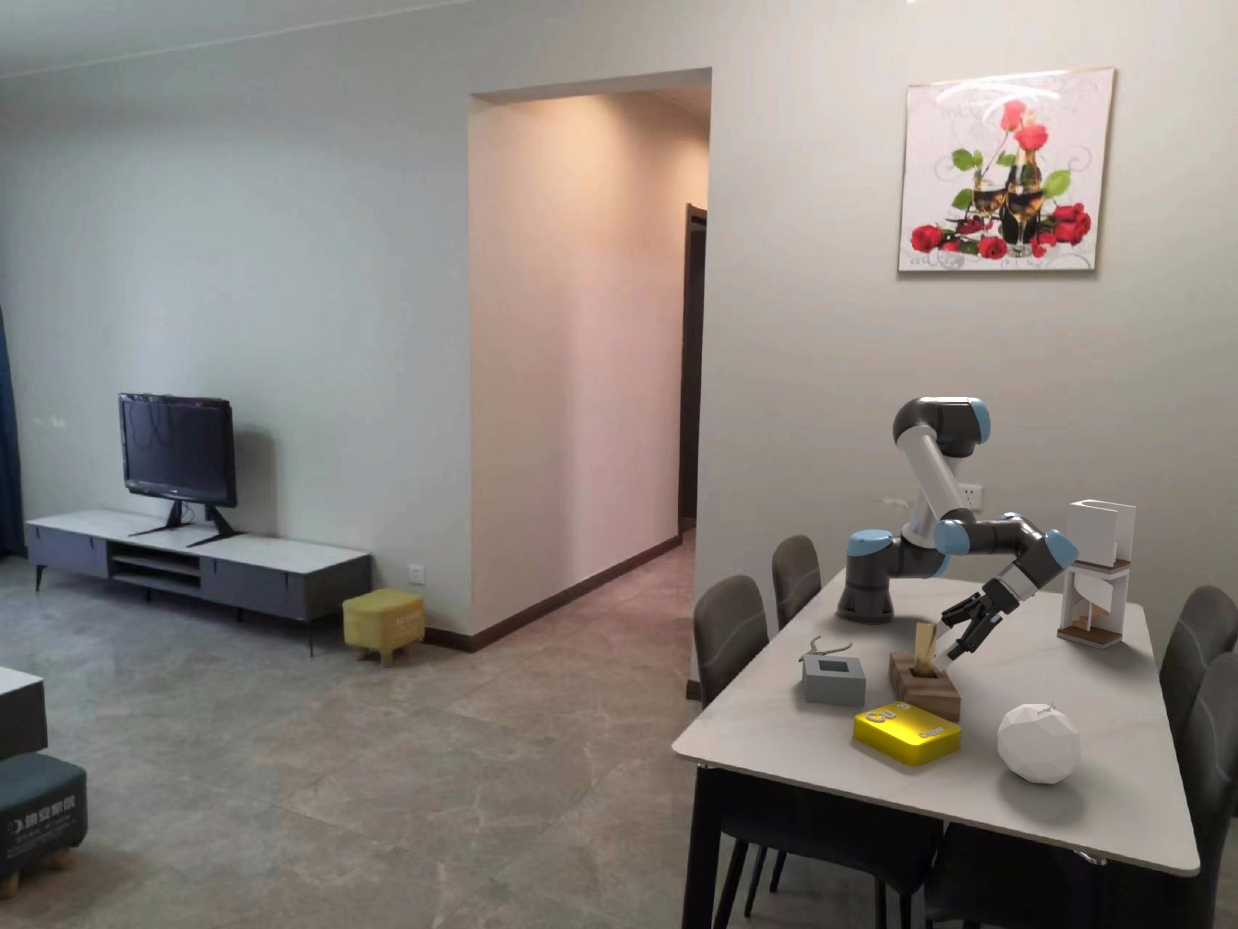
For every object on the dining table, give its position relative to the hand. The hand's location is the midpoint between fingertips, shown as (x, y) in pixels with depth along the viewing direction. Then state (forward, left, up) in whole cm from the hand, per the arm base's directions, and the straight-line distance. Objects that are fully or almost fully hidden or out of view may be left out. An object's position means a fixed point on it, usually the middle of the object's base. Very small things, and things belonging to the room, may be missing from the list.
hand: (928, 654), depth 186 cm
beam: (-1, -1, -9) cm, 10 cm away
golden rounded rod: (-1, -1, -9) cm, 10 cm away
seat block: (+1, -20, -9) cm, 22 cm away
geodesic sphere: (+32, +12, -10) cm, 36 cm away
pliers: (-24, -19, -10) cm, 32 cm away
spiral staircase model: (-46, +49, -10) cm, 68 cm away
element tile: (+22, -8, -10) cm, 26 cm away
